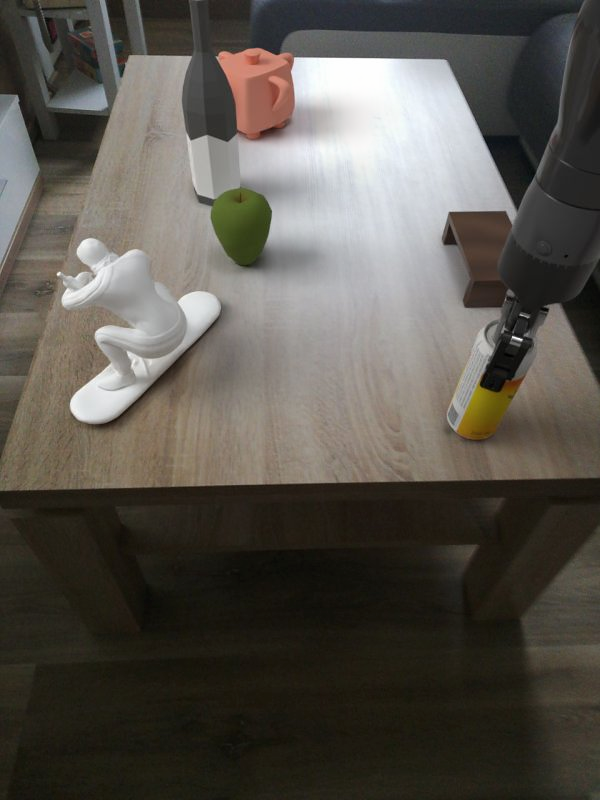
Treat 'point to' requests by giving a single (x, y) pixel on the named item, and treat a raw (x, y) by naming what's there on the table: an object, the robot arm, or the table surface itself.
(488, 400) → the beer can
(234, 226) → the apple
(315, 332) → the table surface
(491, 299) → the shelf
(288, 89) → the teapot
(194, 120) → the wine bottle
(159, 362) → the figurine
